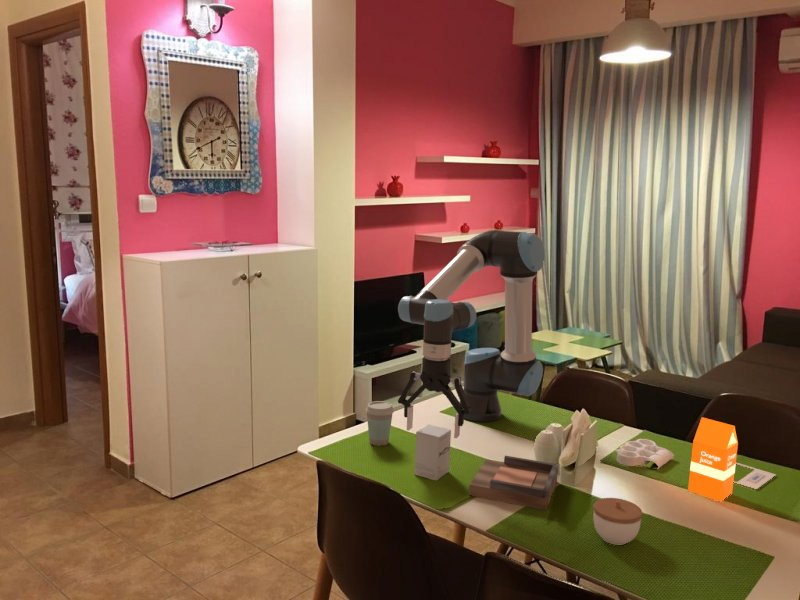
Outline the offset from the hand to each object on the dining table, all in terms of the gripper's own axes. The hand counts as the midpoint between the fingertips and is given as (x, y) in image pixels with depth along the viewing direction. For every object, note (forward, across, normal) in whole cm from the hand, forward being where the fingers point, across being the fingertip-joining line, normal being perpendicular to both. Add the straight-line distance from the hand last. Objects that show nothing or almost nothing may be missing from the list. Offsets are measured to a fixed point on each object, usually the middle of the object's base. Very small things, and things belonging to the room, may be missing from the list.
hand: (432, 432), depth 194 cm
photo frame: (+12, +79, +36) cm, 88 cm away
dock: (+12, +23, 0) cm, 26 cm away
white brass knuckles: (+12, +54, +36) cm, 66 cm away
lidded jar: (+12, +50, -16) cm, 54 cm away
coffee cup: (+12, -22, +16) cm, 29 cm away
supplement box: (+12, 0, 0) cm, 12 cm away
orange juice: (+12, +72, +20) cm, 76 cm away
